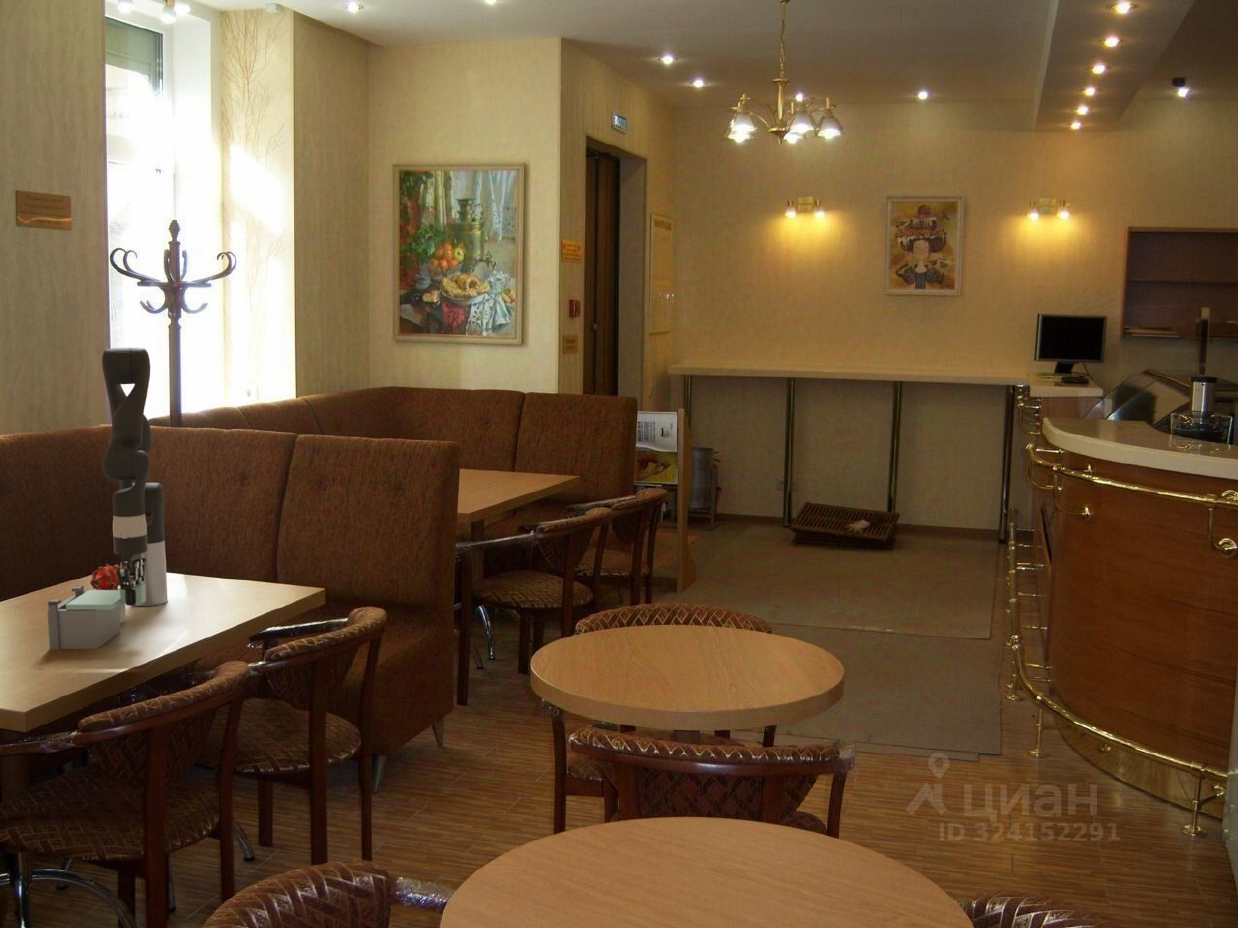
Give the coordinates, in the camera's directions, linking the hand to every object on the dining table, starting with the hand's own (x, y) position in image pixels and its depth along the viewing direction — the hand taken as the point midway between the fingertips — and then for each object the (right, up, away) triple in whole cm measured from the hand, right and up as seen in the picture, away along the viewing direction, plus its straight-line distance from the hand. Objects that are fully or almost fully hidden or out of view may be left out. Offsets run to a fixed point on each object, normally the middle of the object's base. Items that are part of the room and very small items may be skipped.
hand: (133, 602), depth 290 cm
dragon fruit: (-28, -3, +52) cm, 60 cm away
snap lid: (-5, 0, 0) cm, 5 cm away
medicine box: (-14, -8, +17) cm, 23 cm away
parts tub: (-12, -10, +1) cm, 15 cm away
